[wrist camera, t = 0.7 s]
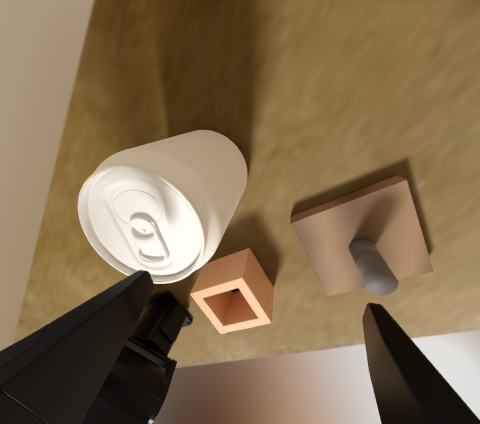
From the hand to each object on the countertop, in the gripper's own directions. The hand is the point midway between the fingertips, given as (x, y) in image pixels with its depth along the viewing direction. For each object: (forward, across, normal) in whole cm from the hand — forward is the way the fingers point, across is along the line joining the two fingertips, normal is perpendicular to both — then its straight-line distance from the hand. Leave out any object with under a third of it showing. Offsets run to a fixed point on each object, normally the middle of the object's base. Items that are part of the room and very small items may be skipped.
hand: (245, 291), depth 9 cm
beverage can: (+14, +7, 0) cm, 16 cm away
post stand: (+14, -8, +7) cm, 18 cm away
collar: (+13, +5, +13) cm, 19 cm away
